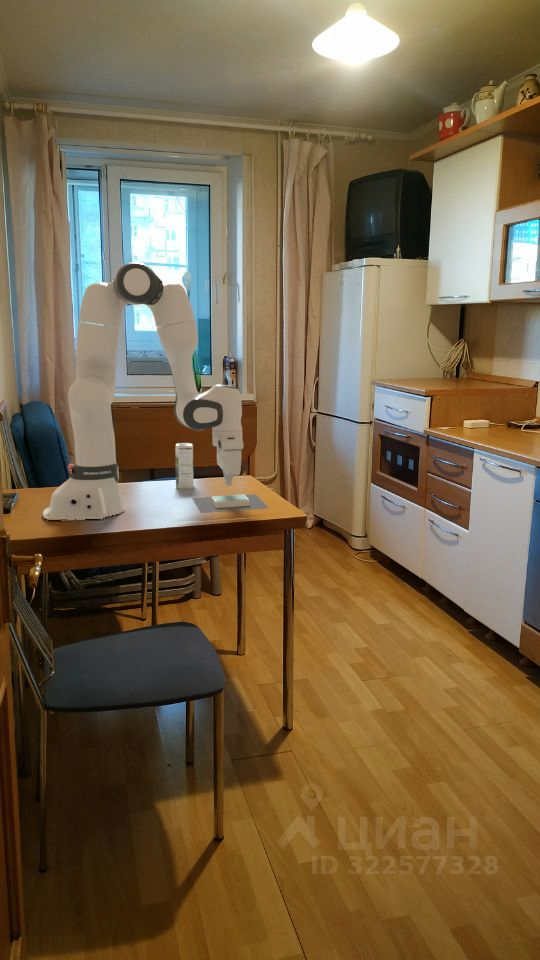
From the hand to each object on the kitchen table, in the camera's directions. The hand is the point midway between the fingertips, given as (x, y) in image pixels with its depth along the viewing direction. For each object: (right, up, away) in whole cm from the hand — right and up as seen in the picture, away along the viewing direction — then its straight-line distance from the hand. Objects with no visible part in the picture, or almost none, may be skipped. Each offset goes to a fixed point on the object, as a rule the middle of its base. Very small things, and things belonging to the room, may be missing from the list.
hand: (228, 485), depth 205 cm
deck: (0, -4, +2) cm, 4 cm away
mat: (0, -6, 0) cm, 6 cm away
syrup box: (-16, -1, +23) cm, 28 cm away
